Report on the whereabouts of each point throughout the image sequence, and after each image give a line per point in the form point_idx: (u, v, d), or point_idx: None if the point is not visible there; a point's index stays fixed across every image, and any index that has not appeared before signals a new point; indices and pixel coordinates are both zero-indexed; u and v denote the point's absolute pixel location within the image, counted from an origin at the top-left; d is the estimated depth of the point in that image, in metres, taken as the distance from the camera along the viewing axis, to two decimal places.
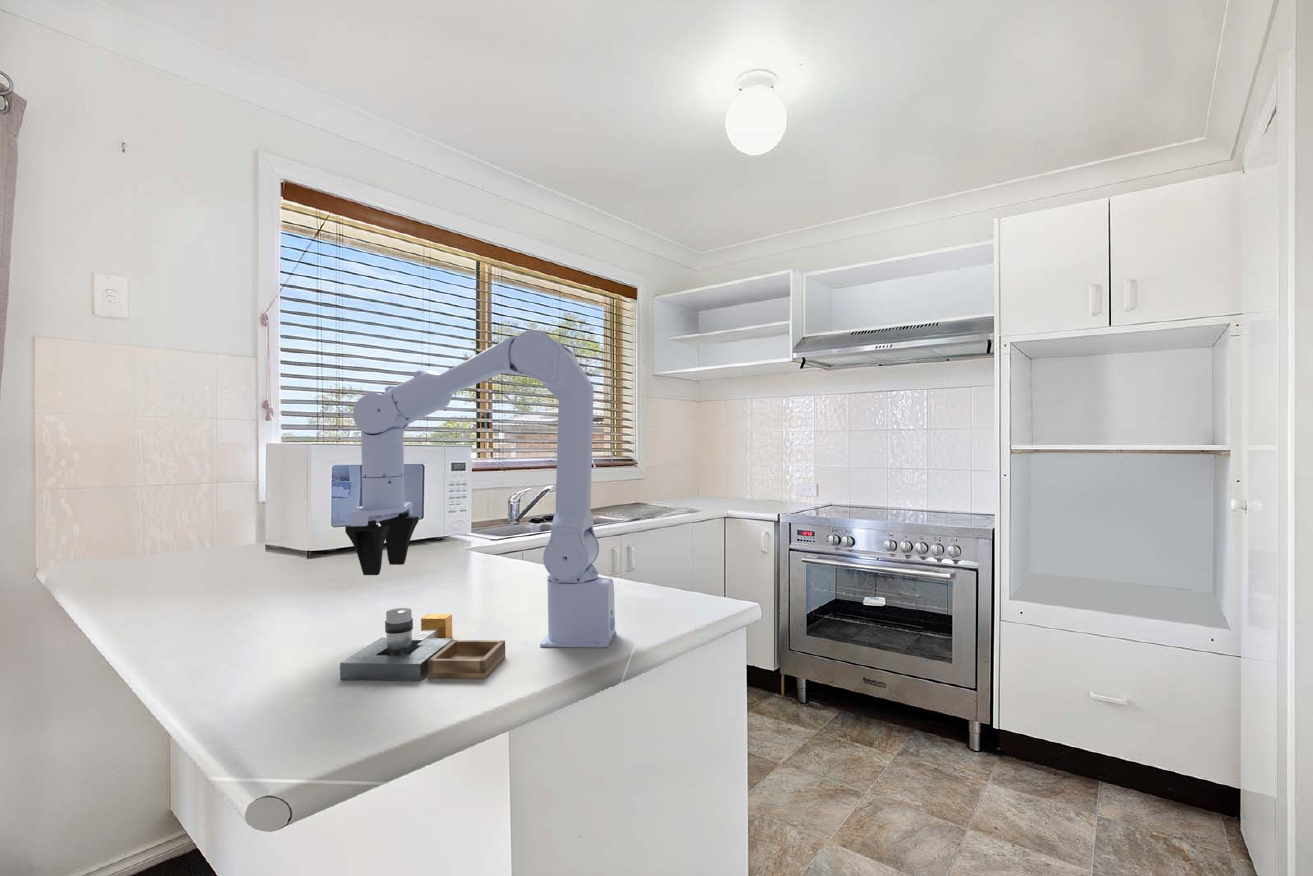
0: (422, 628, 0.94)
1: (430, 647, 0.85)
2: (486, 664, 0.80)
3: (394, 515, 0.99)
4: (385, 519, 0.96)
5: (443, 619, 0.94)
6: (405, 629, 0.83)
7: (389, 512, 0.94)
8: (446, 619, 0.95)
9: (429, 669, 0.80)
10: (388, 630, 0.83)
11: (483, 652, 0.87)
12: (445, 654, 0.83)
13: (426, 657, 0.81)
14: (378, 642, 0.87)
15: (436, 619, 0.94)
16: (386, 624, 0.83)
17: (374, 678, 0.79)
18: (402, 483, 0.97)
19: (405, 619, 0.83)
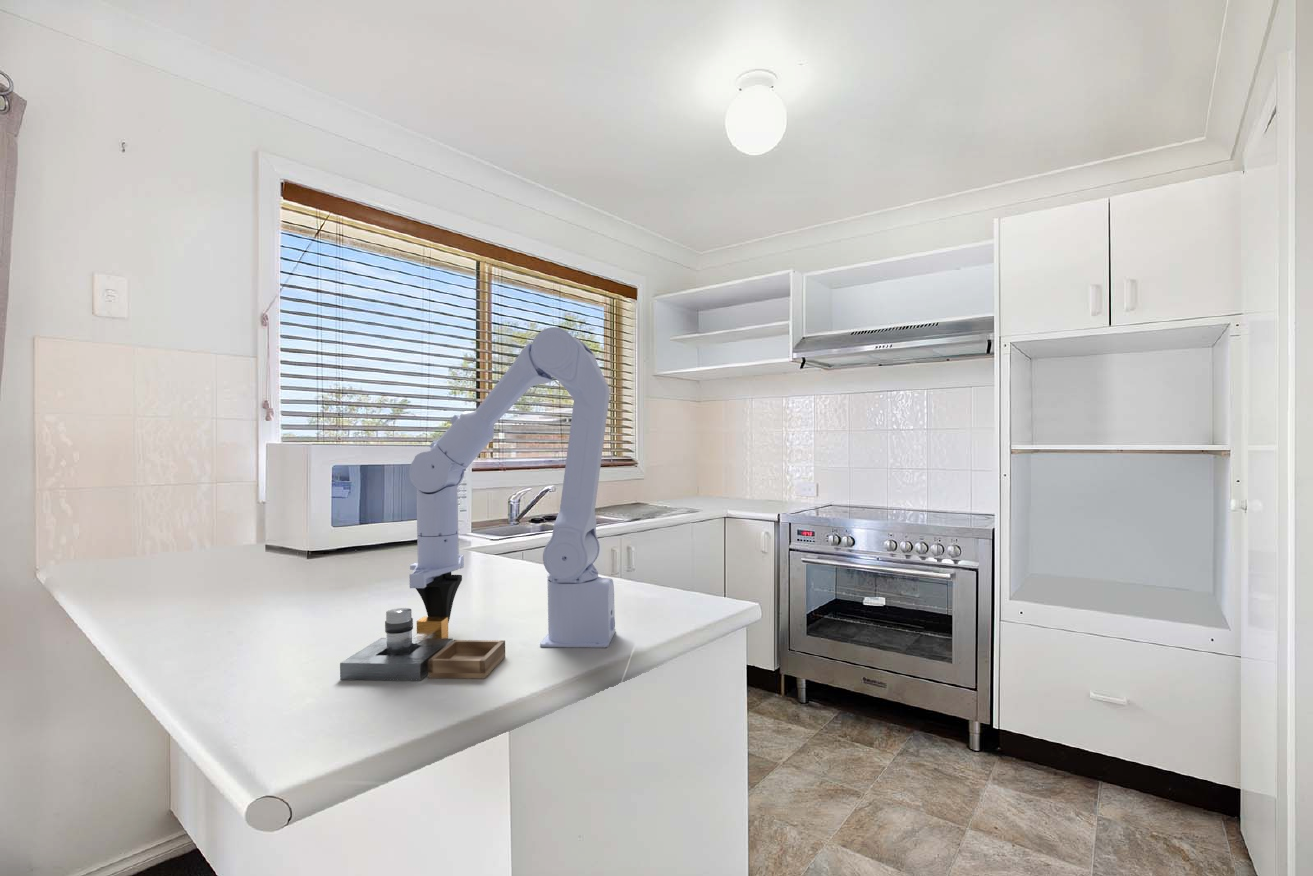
0: (418, 631, 0.93)
1: (430, 647, 0.85)
2: (486, 664, 0.80)
3: None
4: None
5: (439, 622, 0.93)
6: (405, 629, 0.83)
7: (445, 571, 0.93)
8: (442, 622, 0.93)
9: (429, 669, 0.80)
10: (388, 630, 0.83)
11: (483, 652, 0.87)
12: (445, 654, 0.83)
13: (426, 657, 0.81)
14: (378, 642, 0.87)
15: (432, 622, 0.93)
16: (386, 624, 0.83)
17: (374, 678, 0.79)
18: (457, 540, 0.96)
19: (405, 619, 0.83)
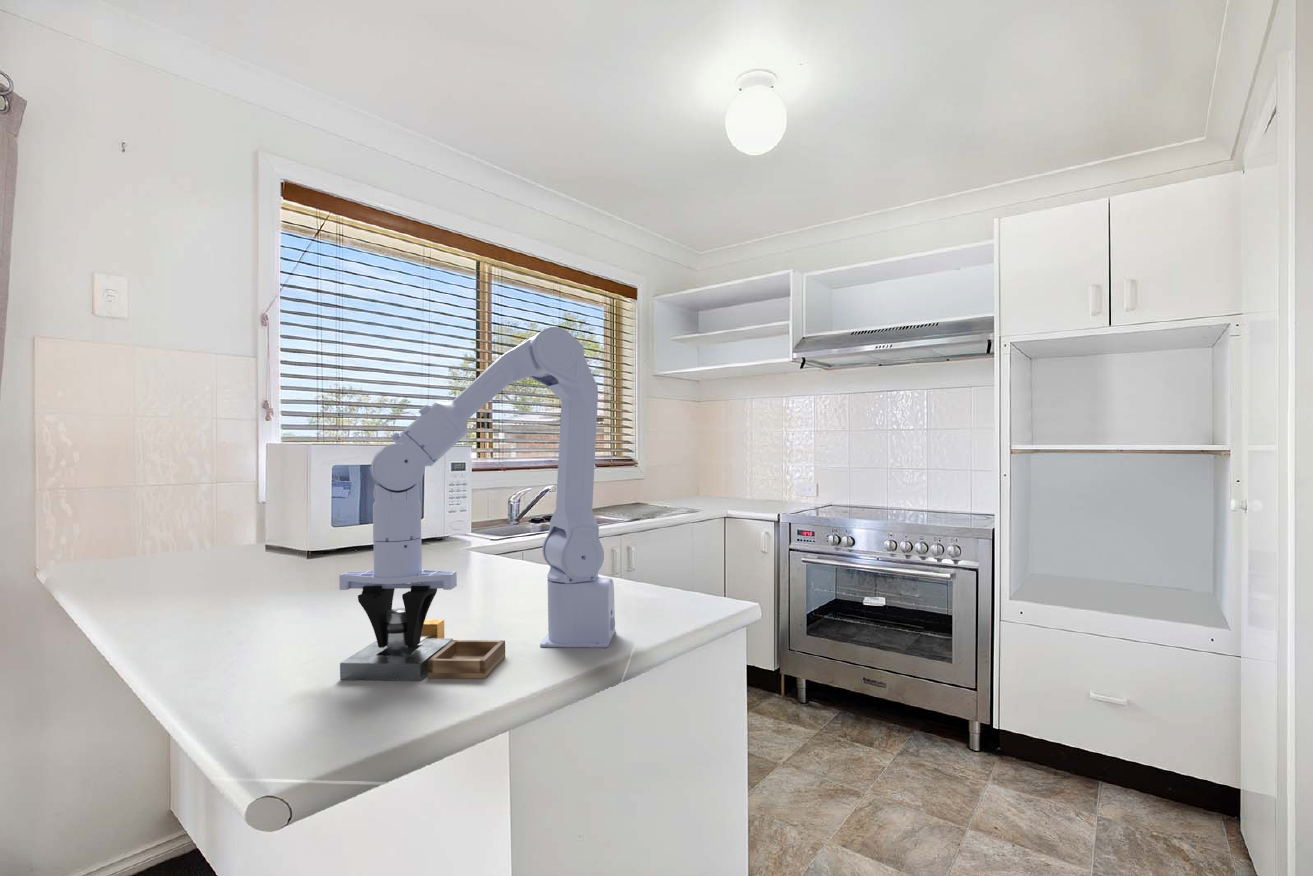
0: None
1: (430, 647, 0.85)
2: (486, 664, 0.80)
3: (417, 586, 0.84)
4: (395, 588, 0.84)
5: (435, 625, 0.91)
6: (405, 629, 0.83)
7: (368, 581, 0.82)
8: (438, 625, 0.92)
9: (429, 669, 0.80)
10: (388, 630, 0.83)
11: (483, 652, 0.87)
12: (445, 654, 0.83)
13: (426, 657, 0.81)
14: None
15: (428, 625, 0.91)
16: (386, 624, 0.83)
17: (374, 678, 0.79)
18: (388, 550, 0.81)
19: (405, 619, 0.83)
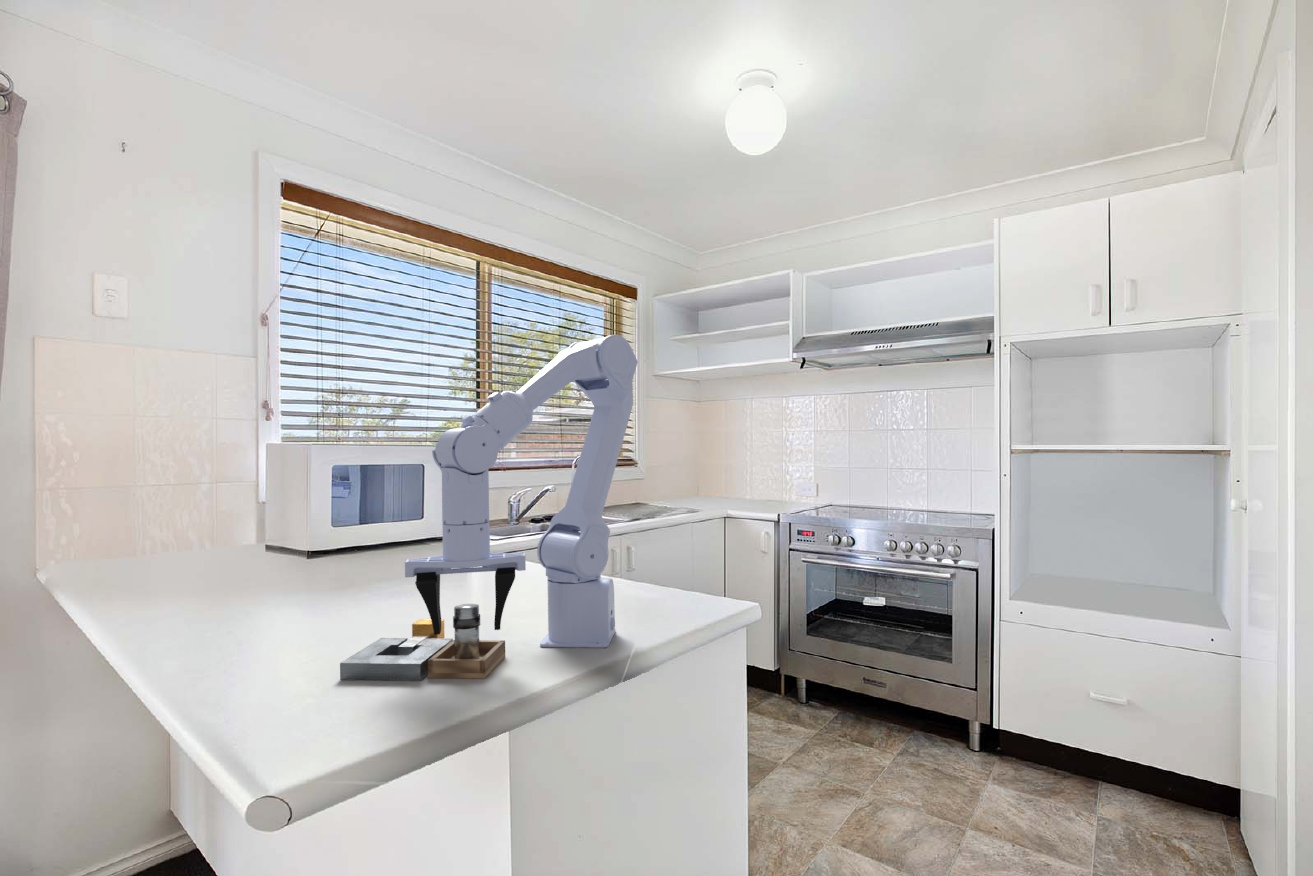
0: (413, 634, 0.92)
1: (430, 647, 0.85)
2: (486, 664, 0.80)
3: (487, 569, 0.84)
4: (464, 572, 0.83)
5: None
6: (477, 624, 0.83)
7: (442, 566, 0.81)
8: None
9: (429, 669, 0.80)
10: (460, 626, 0.82)
11: (483, 652, 0.87)
12: (445, 654, 0.83)
13: (426, 657, 0.81)
14: (378, 642, 0.87)
15: (428, 625, 0.91)
16: (457, 620, 0.82)
17: (374, 678, 0.79)
18: (466, 533, 0.81)
19: (476, 614, 0.83)
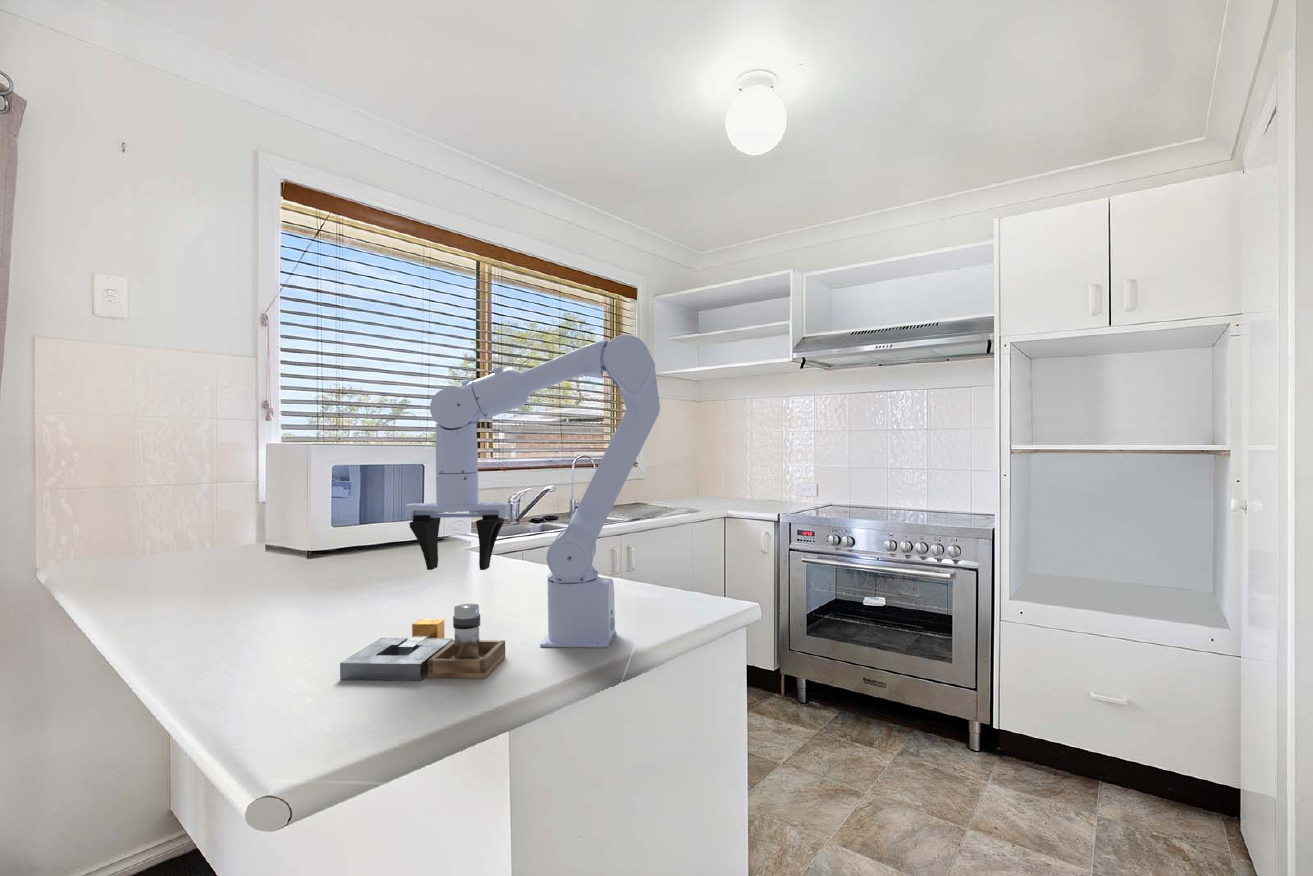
0: (413, 634, 0.92)
1: (430, 647, 0.85)
2: (486, 664, 0.80)
3: (474, 515, 0.93)
4: None
5: (435, 625, 0.91)
6: (477, 624, 0.83)
7: (432, 509, 0.92)
8: (438, 625, 0.92)
9: (429, 669, 0.80)
10: (460, 626, 0.82)
11: (483, 652, 0.87)
12: (445, 654, 0.83)
13: (426, 657, 0.81)
14: (378, 642, 0.87)
15: (428, 625, 0.91)
16: (457, 620, 0.82)
17: (374, 678, 0.79)
18: (450, 481, 0.91)
19: (476, 614, 0.83)
